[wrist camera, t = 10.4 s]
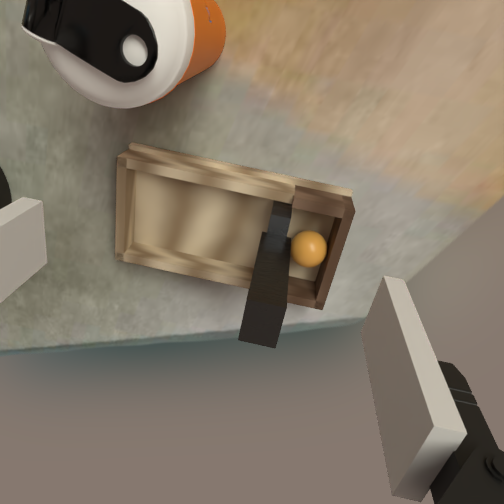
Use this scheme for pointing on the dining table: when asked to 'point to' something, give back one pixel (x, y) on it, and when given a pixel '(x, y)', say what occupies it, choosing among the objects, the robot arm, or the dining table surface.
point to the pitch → (221, 218)
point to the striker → (269, 281)
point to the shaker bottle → (126, 44)
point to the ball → (308, 248)
